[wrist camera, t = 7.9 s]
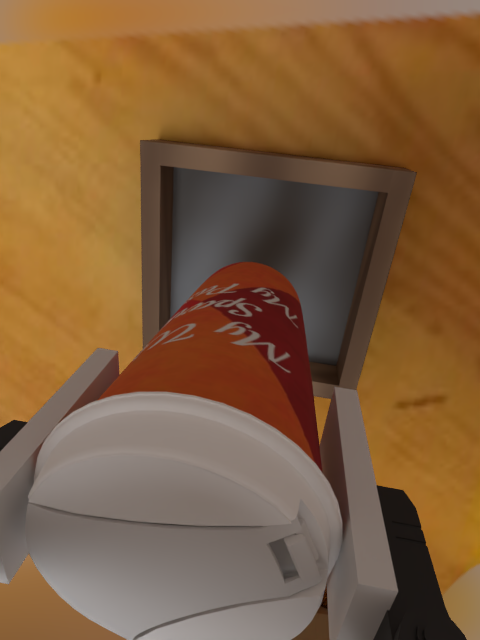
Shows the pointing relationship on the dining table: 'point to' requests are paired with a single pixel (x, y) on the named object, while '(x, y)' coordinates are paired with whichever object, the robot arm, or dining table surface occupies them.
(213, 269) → the tray
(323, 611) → the decorative mushroom
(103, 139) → the dining table surface
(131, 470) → the paper cup
